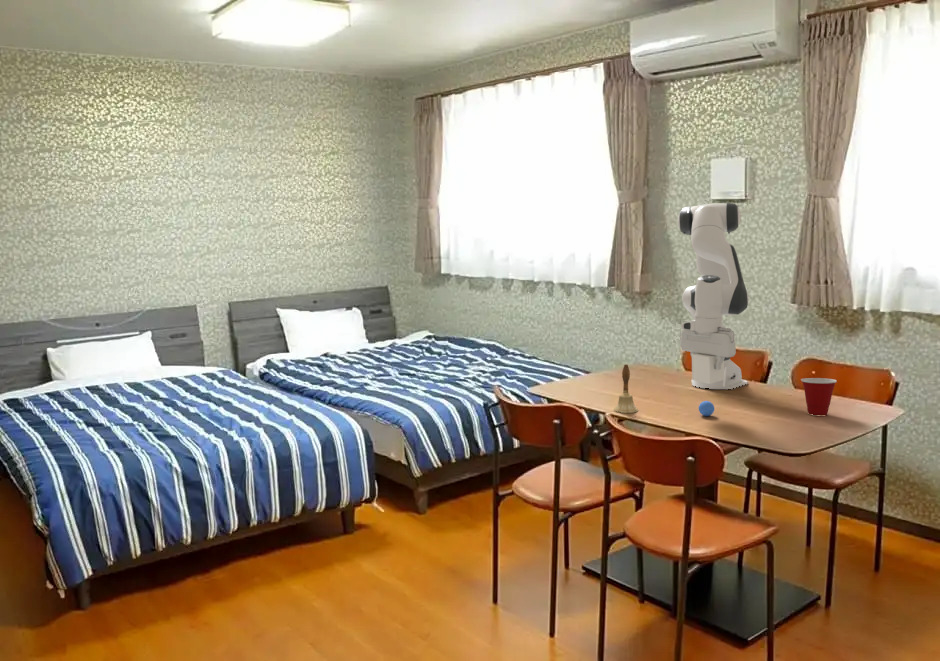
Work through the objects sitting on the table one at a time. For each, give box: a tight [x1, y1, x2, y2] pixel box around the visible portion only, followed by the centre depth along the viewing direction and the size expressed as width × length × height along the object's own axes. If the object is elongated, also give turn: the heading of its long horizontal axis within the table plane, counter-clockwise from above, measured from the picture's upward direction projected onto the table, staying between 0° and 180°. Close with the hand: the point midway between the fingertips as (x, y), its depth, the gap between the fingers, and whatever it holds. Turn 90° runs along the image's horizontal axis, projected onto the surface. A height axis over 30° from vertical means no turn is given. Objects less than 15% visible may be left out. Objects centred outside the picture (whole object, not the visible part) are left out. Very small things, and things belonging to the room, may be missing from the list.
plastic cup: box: [800, 377, 838, 416], centre depth 270 cm, size 11×11×12 cm
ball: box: [698, 400, 715, 417], centre depth 271 cm, size 5×5×5 cm
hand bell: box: [613, 363, 639, 414], centre depth 280 cm, size 8×8×16 cm
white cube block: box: [691, 353, 724, 384], centre depth 269 cm, size 7×7×9 cm
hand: (706, 367), depth 269 cm, fingers closed on white cube block, 7 cm apart
